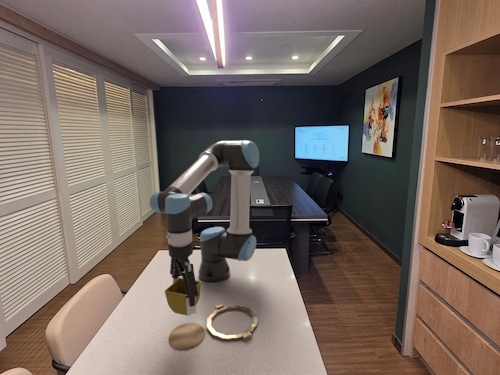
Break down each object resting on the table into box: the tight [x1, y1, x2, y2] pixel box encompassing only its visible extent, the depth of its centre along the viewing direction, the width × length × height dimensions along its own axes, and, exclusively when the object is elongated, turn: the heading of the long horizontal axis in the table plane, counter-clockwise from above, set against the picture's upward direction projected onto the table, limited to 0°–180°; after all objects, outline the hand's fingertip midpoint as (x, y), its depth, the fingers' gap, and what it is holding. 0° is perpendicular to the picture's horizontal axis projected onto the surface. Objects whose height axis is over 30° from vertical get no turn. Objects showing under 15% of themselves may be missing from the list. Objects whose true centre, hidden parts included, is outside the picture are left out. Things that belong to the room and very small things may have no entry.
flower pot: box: [164, 277, 202, 317], centre depth 94 cm, size 9×9×9 cm
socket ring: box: [206, 303, 258, 343], centre depth 103 cm, size 21×18×2 cm
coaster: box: [168, 322, 206, 350], centre depth 96 cm, size 12×12×1 cm
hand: (184, 304), depth 94 cm, fingers closed on flower pot, 12 cm apart
